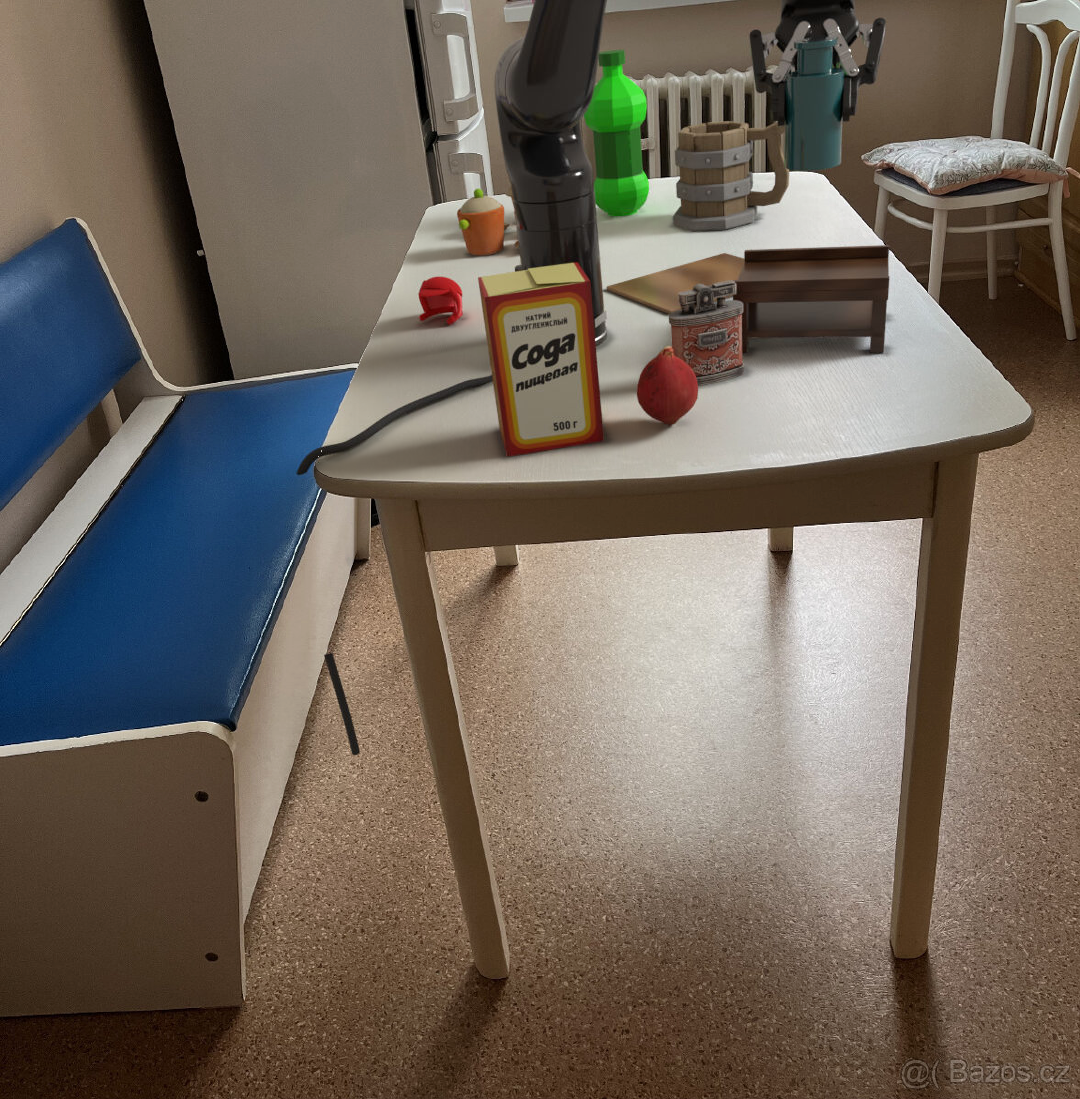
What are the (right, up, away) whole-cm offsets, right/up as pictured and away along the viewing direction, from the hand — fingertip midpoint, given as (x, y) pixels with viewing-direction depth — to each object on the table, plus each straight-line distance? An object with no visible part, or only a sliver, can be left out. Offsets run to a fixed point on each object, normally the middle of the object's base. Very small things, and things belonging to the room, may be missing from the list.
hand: (813, 118), depth 105 cm
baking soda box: (-27, -33, -3) cm, 43 cm away
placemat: (-7, -8, +33) cm, 34 cm away
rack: (+3, -20, +12) cm, 23 cm away
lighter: (-10, -26, +5) cm, 28 cm away
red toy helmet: (-41, -14, +31) cm, 53 cm away
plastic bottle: (-14, +13, +71) cm, 73 cm away
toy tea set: (-33, +7, +65) cm, 73 cm away
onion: (-15, -32, -4) cm, 36 cm away
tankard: (+4, +8, +59) cm, 59 cm away
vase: (+1, -3, +4) cm, 5 cm away
